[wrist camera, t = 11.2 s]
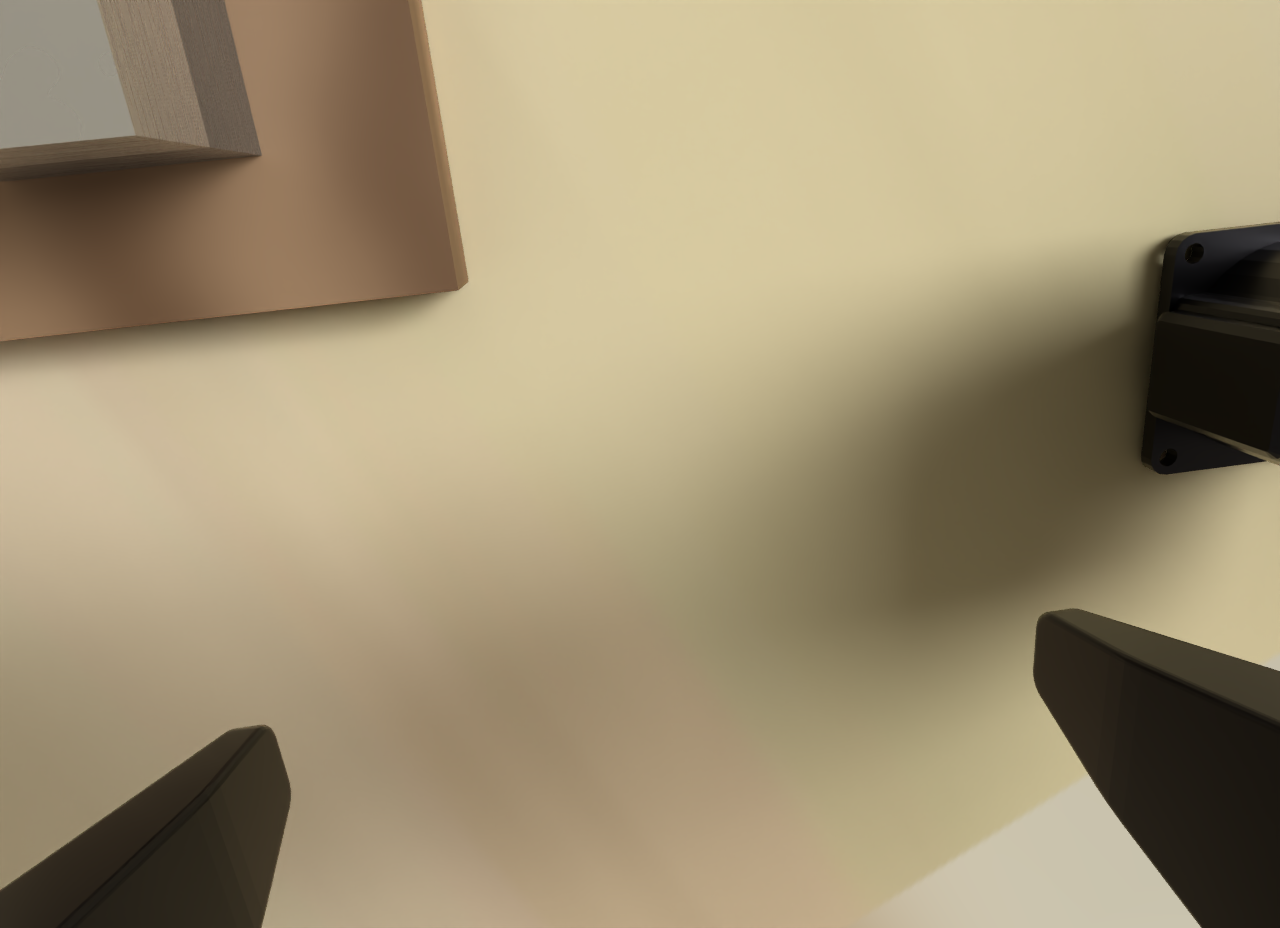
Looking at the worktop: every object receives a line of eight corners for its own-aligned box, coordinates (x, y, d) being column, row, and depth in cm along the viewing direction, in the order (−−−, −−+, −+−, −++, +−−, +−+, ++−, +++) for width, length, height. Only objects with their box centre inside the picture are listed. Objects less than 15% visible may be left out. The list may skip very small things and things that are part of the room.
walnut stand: (362, -352, 15) (333, -432, 13) (468, 281, 19) (458, 289, 17) (-300, -311, 14) (-430, -389, 12) (-48, 338, 18) (-118, 354, 16)
